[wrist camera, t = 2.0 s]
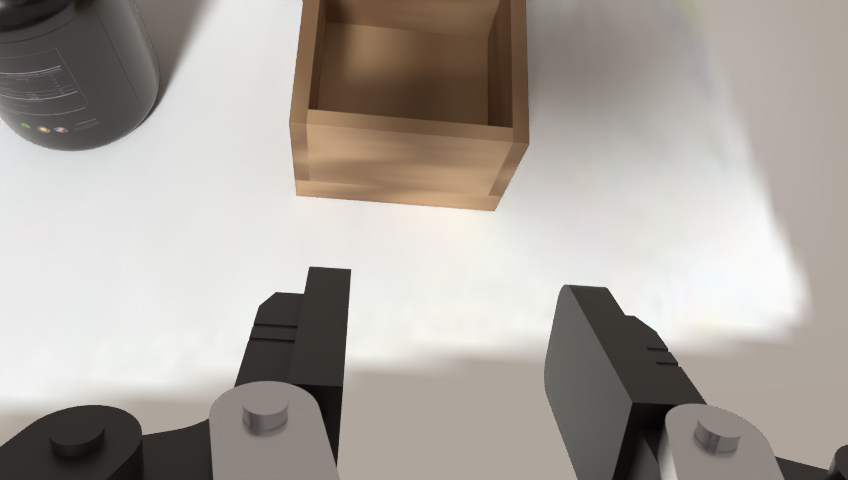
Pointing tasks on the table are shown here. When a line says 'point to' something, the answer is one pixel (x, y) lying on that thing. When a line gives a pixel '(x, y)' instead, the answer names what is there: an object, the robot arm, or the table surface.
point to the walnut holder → (410, 101)
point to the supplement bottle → (75, 71)
